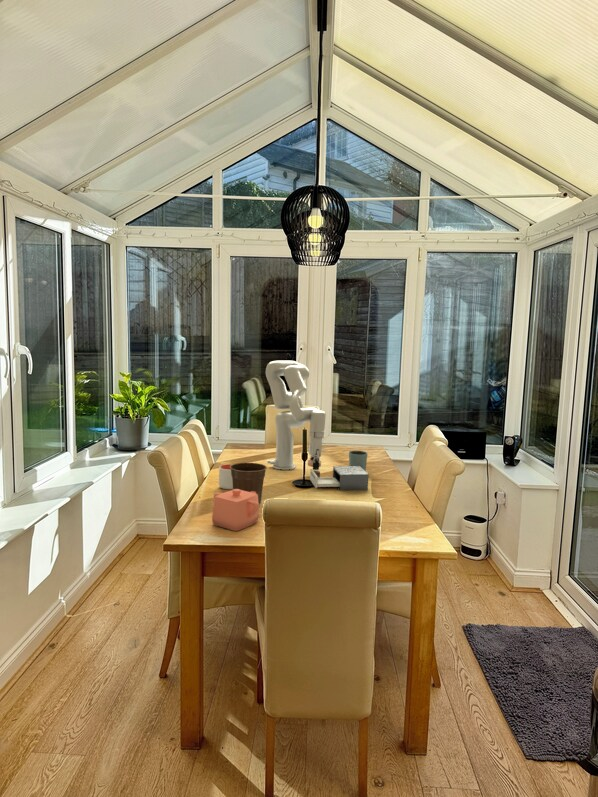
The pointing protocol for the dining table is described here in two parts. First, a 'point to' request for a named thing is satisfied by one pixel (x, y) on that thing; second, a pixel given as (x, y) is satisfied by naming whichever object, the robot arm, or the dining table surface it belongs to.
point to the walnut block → (317, 473)
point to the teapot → (235, 509)
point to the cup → (225, 477)
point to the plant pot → (248, 477)
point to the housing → (351, 477)
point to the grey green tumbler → (358, 459)
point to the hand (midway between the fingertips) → (314, 467)
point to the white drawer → (323, 481)
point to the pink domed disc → (310, 463)
